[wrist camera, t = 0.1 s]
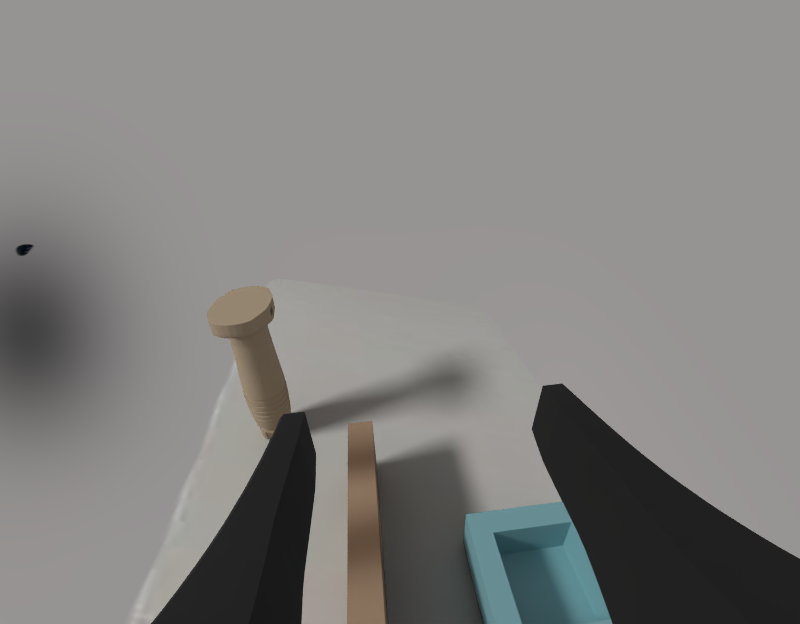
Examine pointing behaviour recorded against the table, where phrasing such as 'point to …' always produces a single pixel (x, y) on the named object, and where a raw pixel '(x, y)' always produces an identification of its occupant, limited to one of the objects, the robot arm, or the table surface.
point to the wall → (364, 531)
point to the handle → (253, 352)
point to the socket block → (532, 567)
